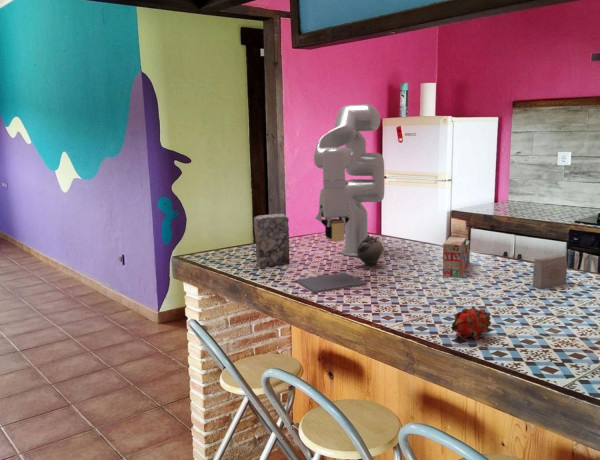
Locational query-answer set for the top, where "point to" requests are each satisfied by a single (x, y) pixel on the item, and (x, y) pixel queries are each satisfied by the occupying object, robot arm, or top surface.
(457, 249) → the stack of blocks
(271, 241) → the stone block
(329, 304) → the top surface
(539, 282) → the taupe upright slab
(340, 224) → the block
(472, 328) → the dragon fruit
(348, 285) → the mat
